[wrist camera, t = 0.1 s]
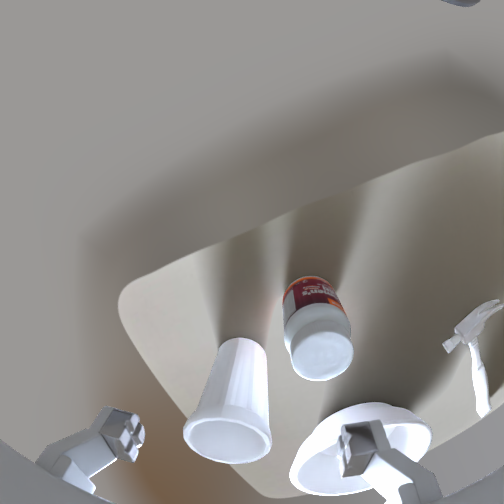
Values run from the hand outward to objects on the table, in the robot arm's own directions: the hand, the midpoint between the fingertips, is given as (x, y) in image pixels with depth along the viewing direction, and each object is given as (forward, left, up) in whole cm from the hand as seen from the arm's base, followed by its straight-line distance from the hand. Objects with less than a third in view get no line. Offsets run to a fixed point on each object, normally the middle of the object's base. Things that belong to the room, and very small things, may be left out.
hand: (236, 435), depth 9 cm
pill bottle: (+4, +5, -23) cm, 24 cm away
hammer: (+20, +39, -23) cm, 50 cm away
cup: (+12, -3, -23) cm, 26 cm away
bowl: (+29, +15, -23) cm, 40 cm away
